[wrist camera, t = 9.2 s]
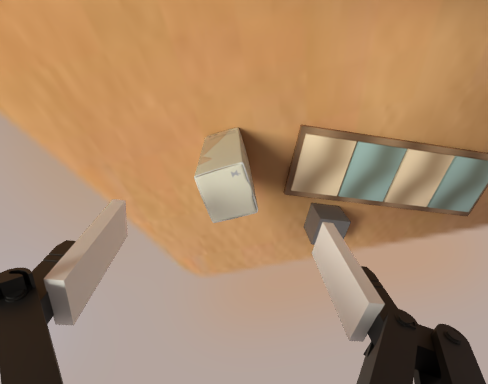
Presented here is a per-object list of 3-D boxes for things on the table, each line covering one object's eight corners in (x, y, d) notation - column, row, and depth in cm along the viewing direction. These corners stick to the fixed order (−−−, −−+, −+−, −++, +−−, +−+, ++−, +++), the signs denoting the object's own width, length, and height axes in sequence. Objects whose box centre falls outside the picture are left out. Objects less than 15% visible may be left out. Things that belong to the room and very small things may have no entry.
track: (283, 192, 34) (284, 195, 33) (301, 124, 30) (302, 126, 29) (464, 214, 37) (469, 217, 36) (502, 155, 33) (509, 157, 32)
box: (204, 136, 30) (191, 173, 20) (239, 126, 30) (243, 158, 20) (218, 175, 32) (212, 225, 22) (250, 166, 32) (259, 213, 22)
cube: (303, 226, 37) (311, 244, 33) (311, 202, 35) (320, 218, 31) (329, 229, 37) (340, 247, 34) (338, 205, 35) (350, 222, 32)
